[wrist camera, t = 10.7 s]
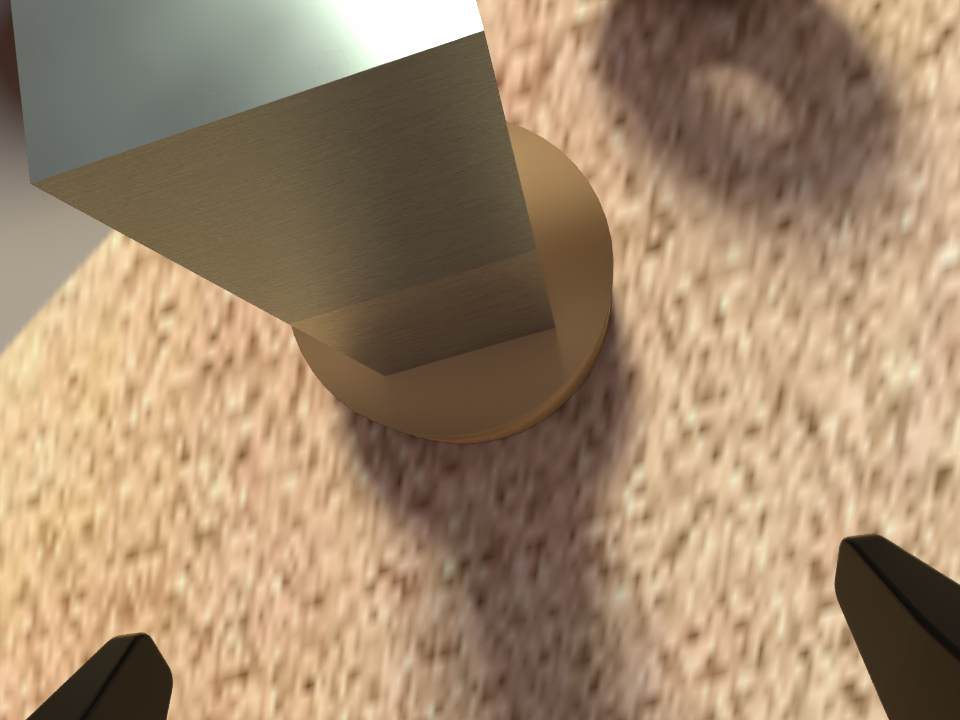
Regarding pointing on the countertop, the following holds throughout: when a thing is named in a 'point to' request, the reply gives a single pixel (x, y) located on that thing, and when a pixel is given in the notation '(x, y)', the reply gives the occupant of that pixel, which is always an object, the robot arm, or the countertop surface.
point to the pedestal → (512, 364)
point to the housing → (296, 160)
